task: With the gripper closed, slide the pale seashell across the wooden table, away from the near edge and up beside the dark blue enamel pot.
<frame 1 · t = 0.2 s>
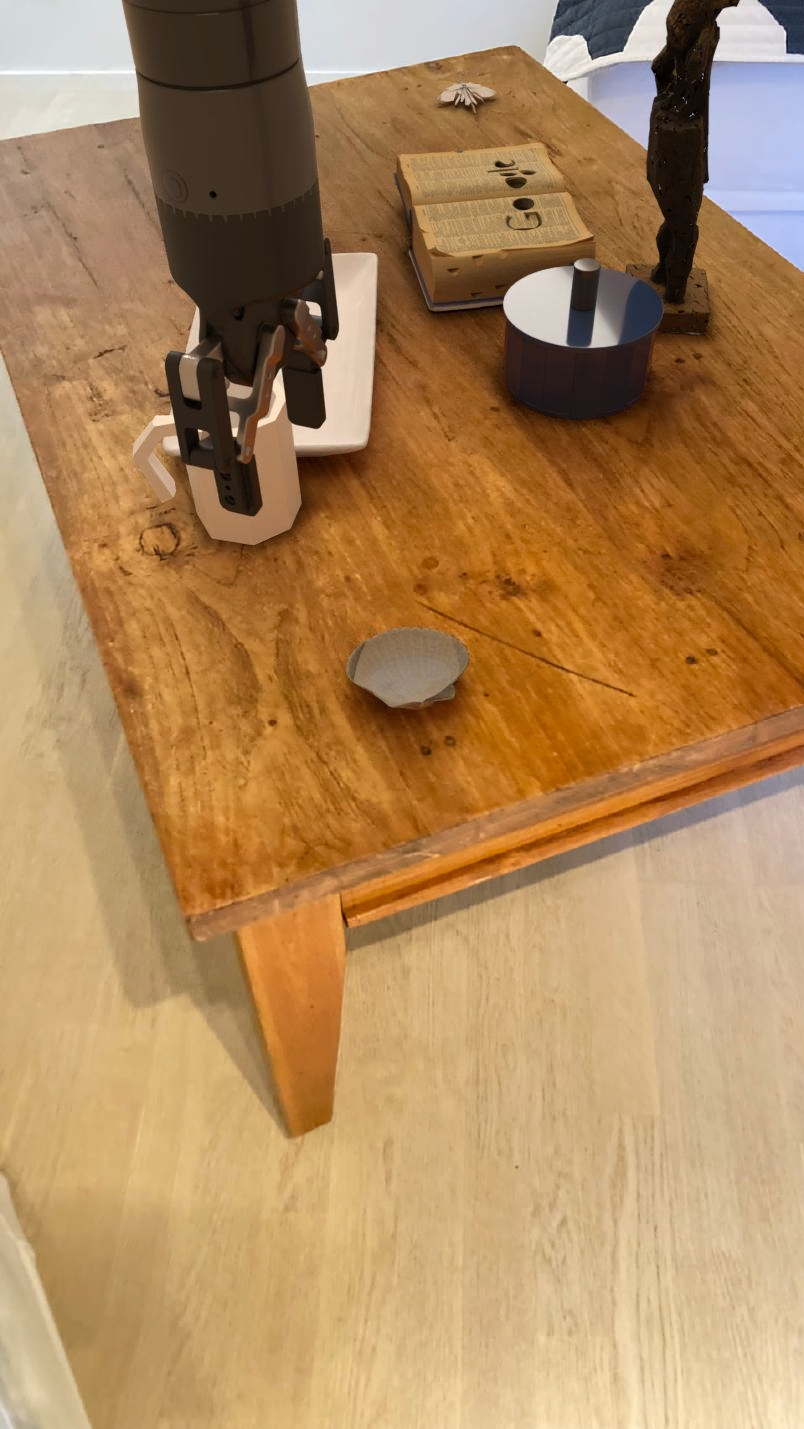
hand: (276, 465, 60), 16 cm above the table, tool pointing down, fingers open, 8 cm apart
dark brown rock: (239, 208, 118), on the table
sculpture: (663, 312, 101), on the table
mug: (226, 514, 84), on the table
white slab: (284, 376, 96), on the table
pot lid: (582, 310, 89), point 6 cm above the table, touching pot
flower: (468, 105, 135), on the table
pot: (574, 378, 94), on the table
book: (487, 247, 110), on the table
seashell: (408, 684, 71), on the table
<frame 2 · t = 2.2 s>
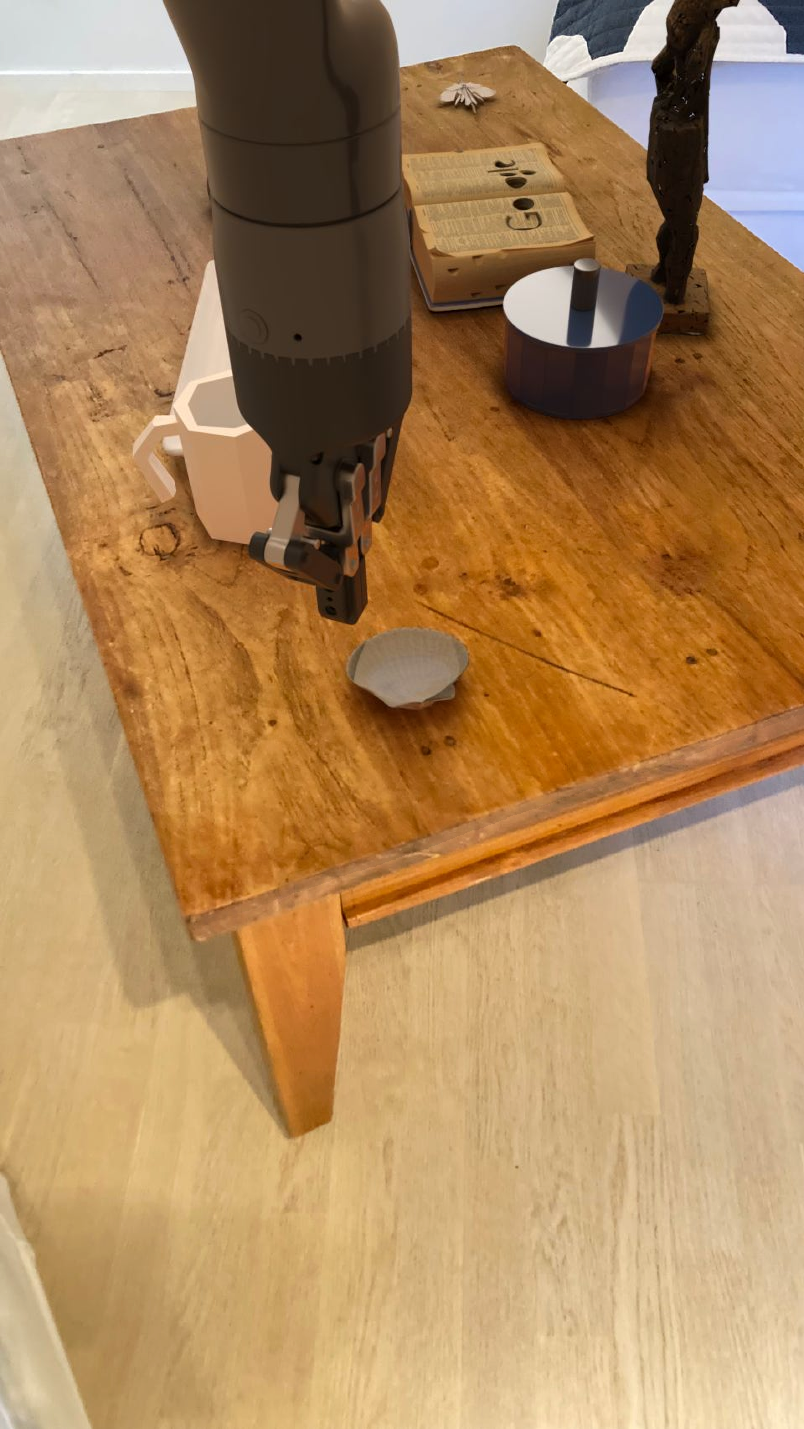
hand: (343, 611, 55), 15 cm above the table, tool pointing down, fingers closed
nothing on the table moved.
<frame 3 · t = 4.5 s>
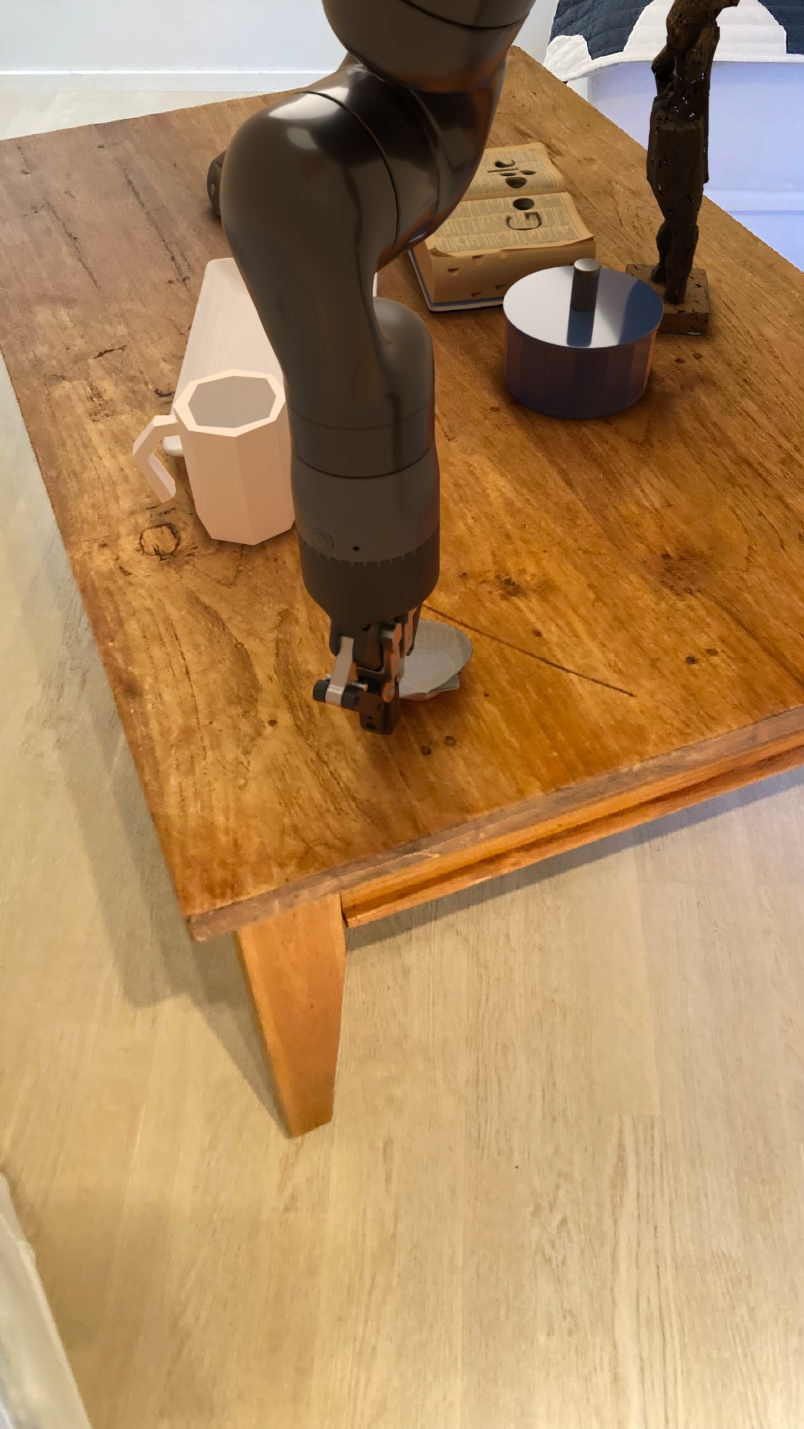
hand: (380, 724, 68), 1 cm above the table, tool pointing down, fingers closed
seashell: (412, 676, 72), on the table, touching gripper
everything else where it was.
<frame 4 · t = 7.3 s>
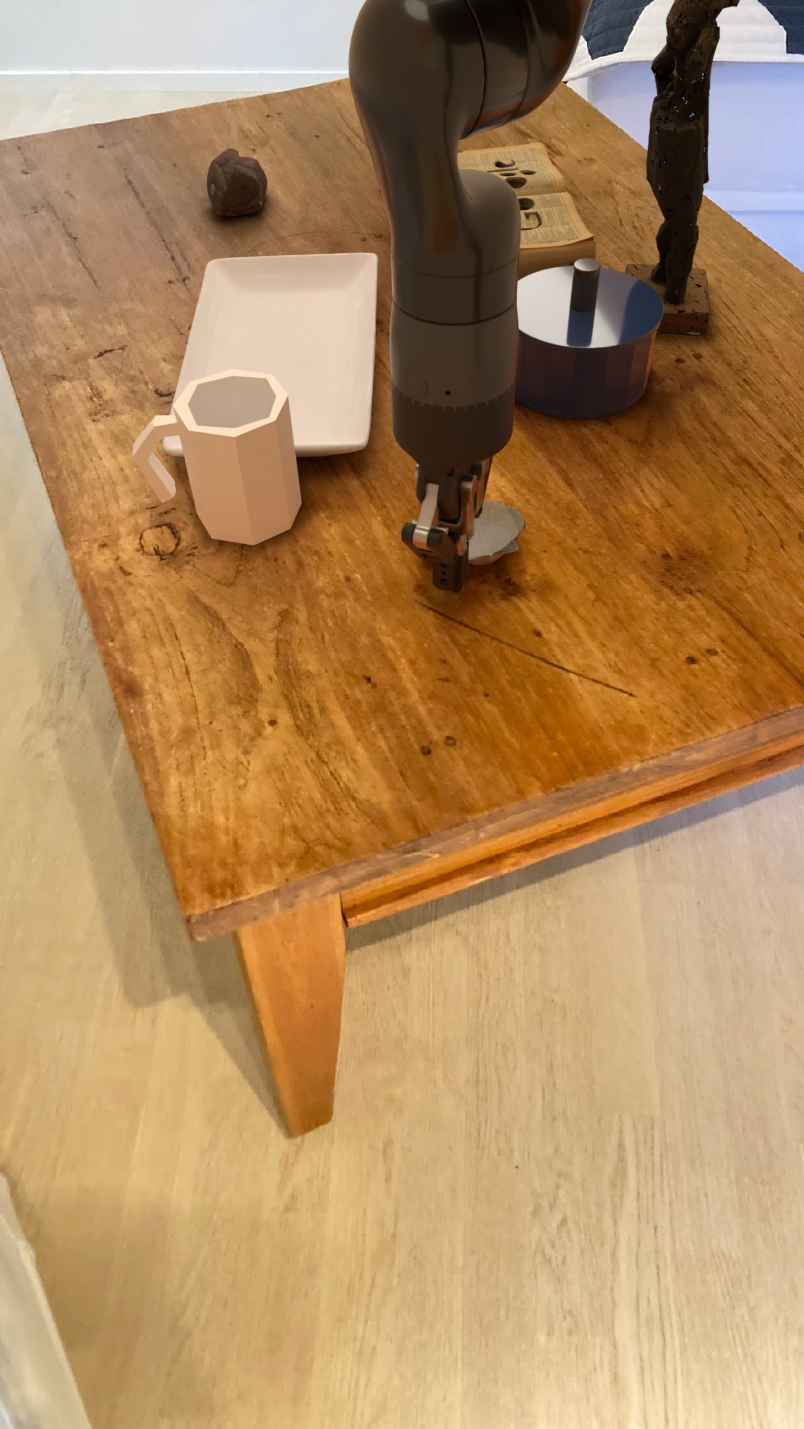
hand: (450, 583, 76), 1 cm above the table, tool pointing down, fingers closed
seashell: (470, 548, 80), on the table, touching gripper
everything else where it was.
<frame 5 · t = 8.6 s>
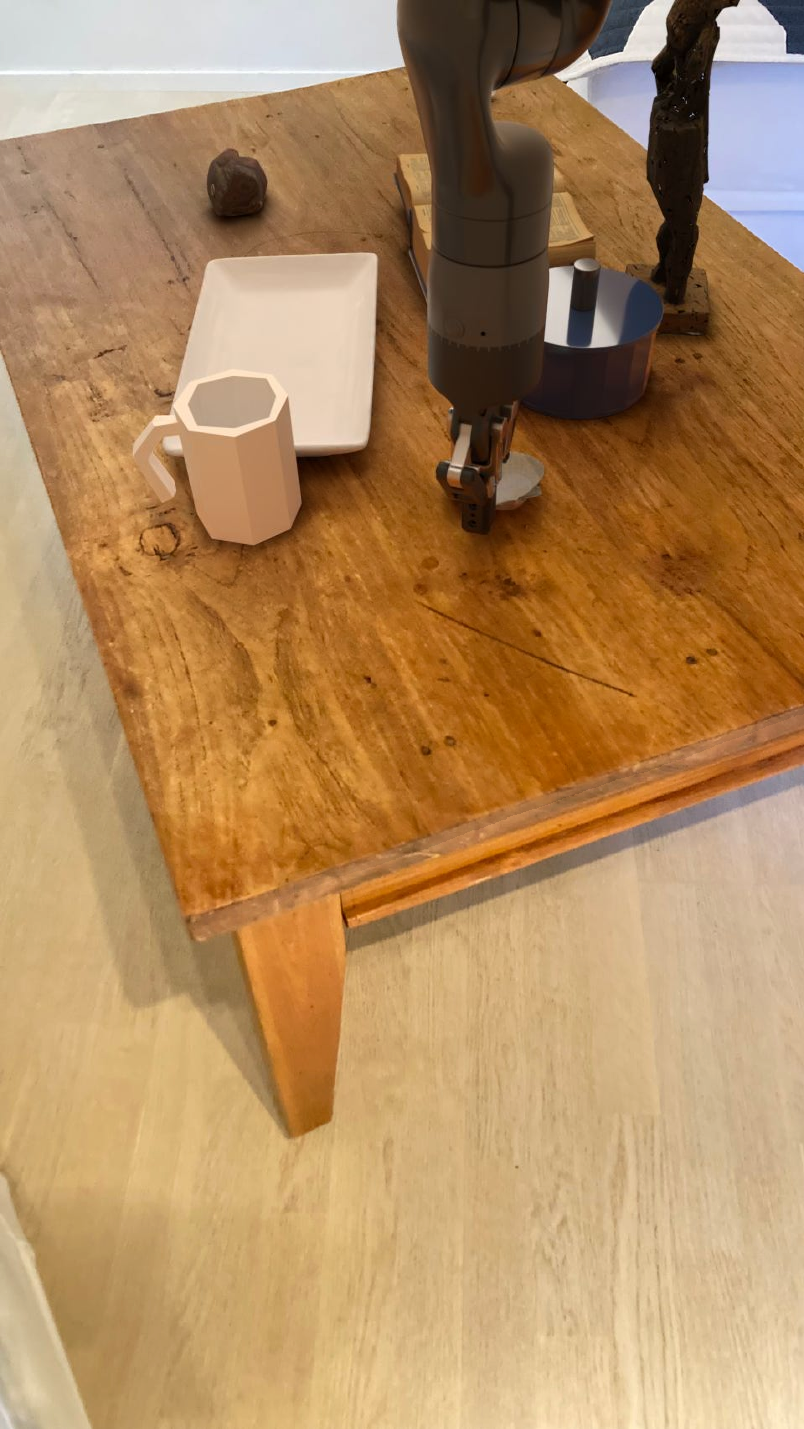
hand: (478, 527, 80), 1 cm above the table, tool pointing down, fingers closed
seashell: (493, 497, 84), on the table, touching gripper
everything else where it was.
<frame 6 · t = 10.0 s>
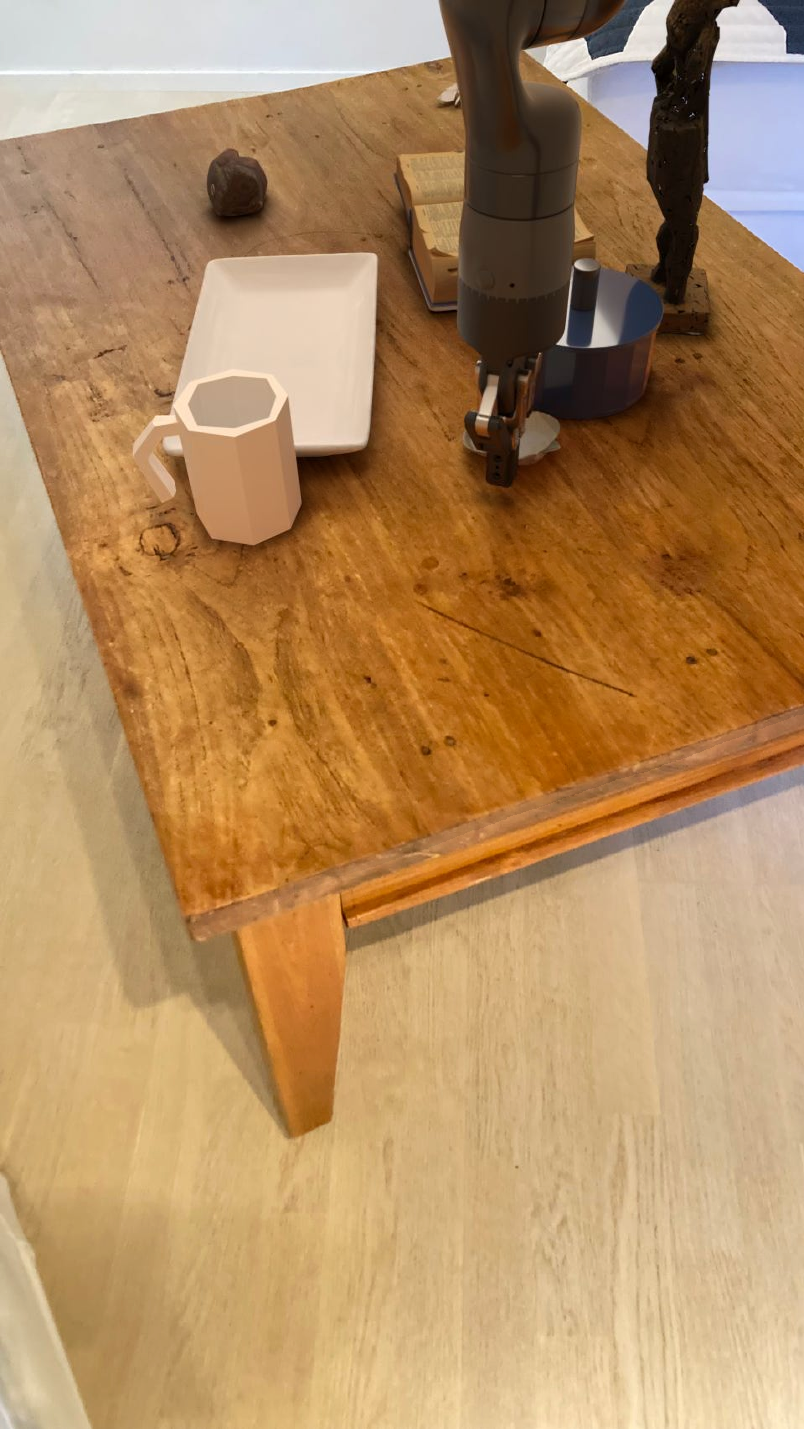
hand: (501, 480, 83), 1 cm above the table, tool pointing down, fingers closed
seashell: (511, 454, 88), on the table, touching gripper
everything else where it was.
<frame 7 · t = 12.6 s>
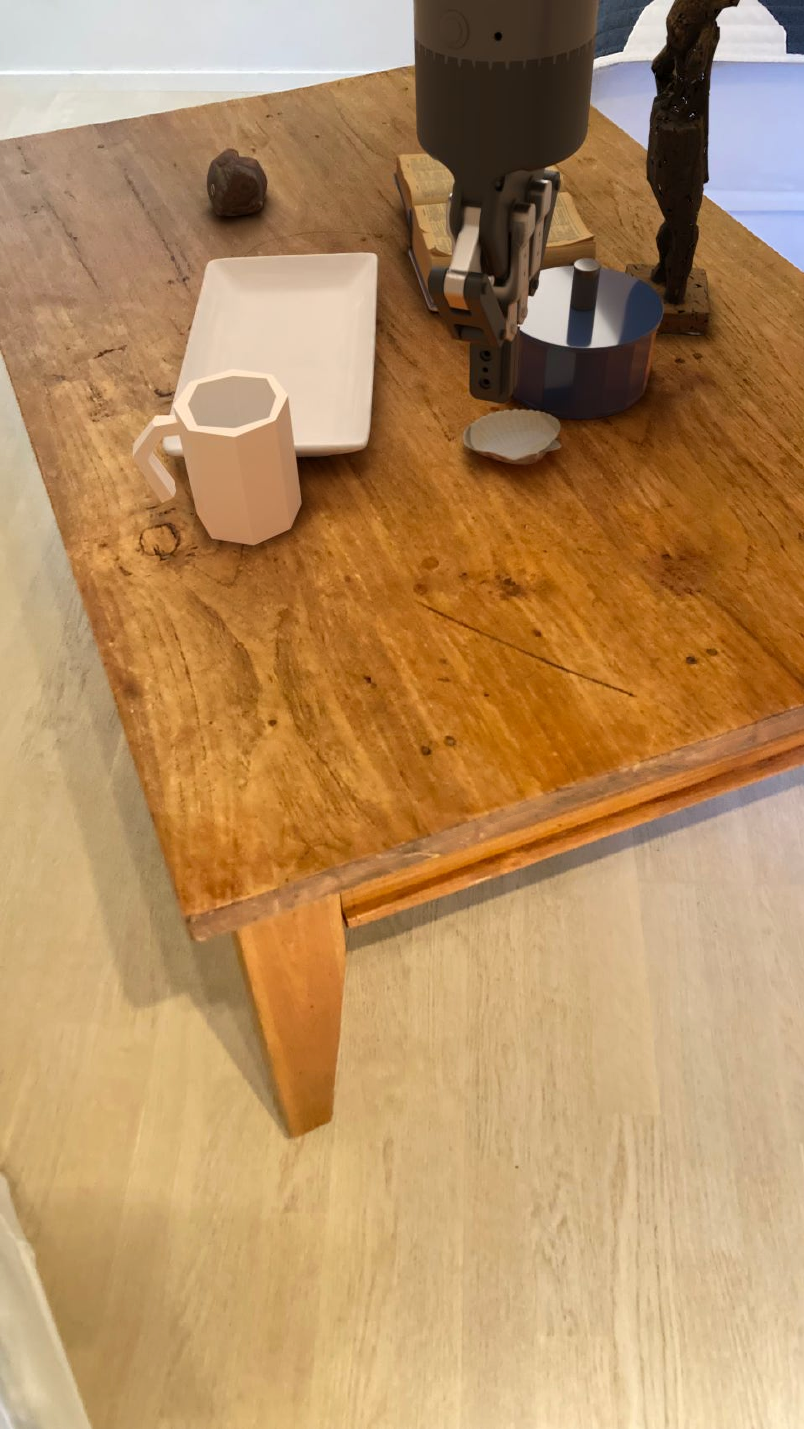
hand: (493, 393, 56), 21 cm above the table, tool pointing down, fingers closed
seashell: (512, 453, 88), on the table
everything else where it was.
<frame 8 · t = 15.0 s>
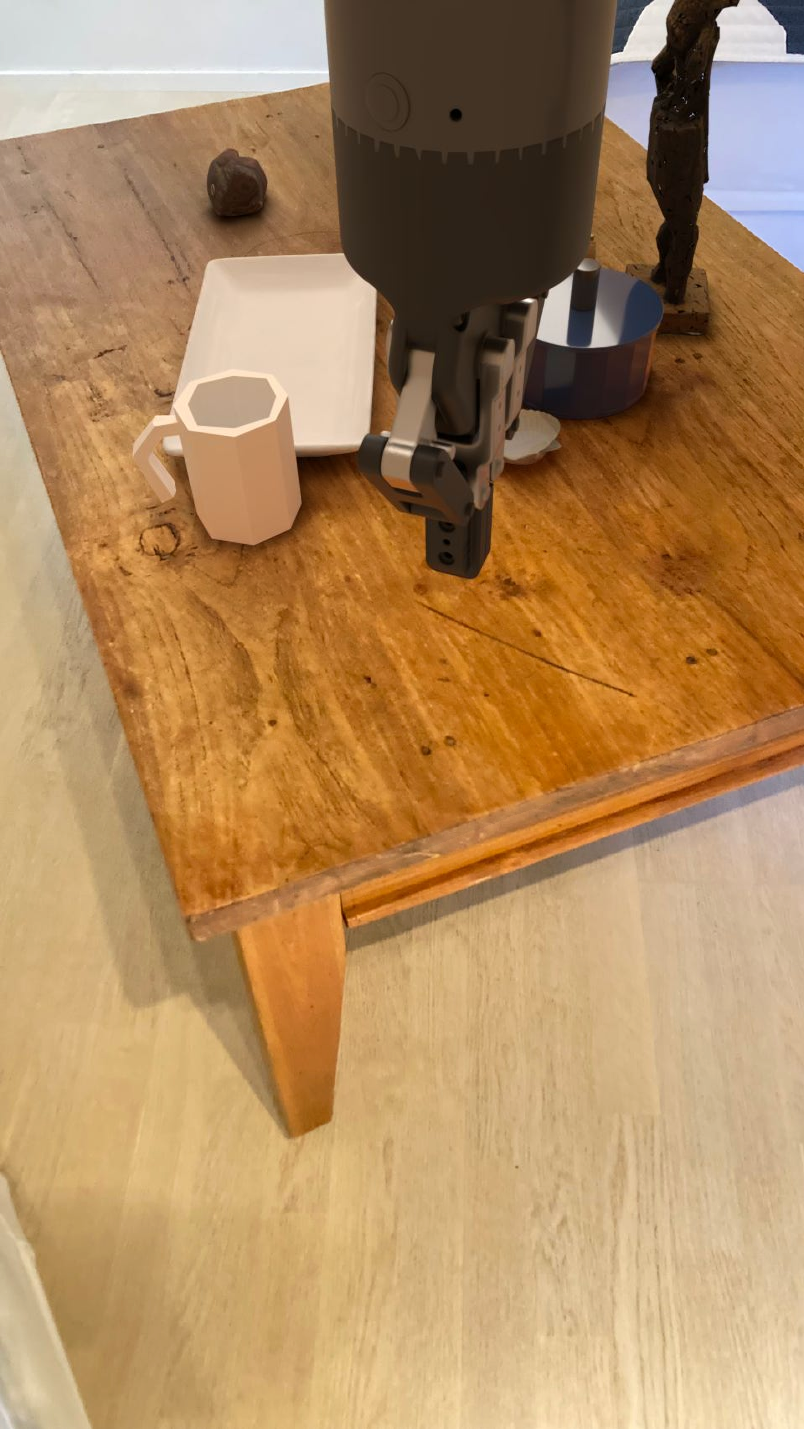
hand: (458, 562, 42), 25 cm above the table, tool pointing down, fingers closed
nothing on the table moved.
at the end: seashell 12.3 cm from the pot (horizontally); seashell moved 26.9 cm from its start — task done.
